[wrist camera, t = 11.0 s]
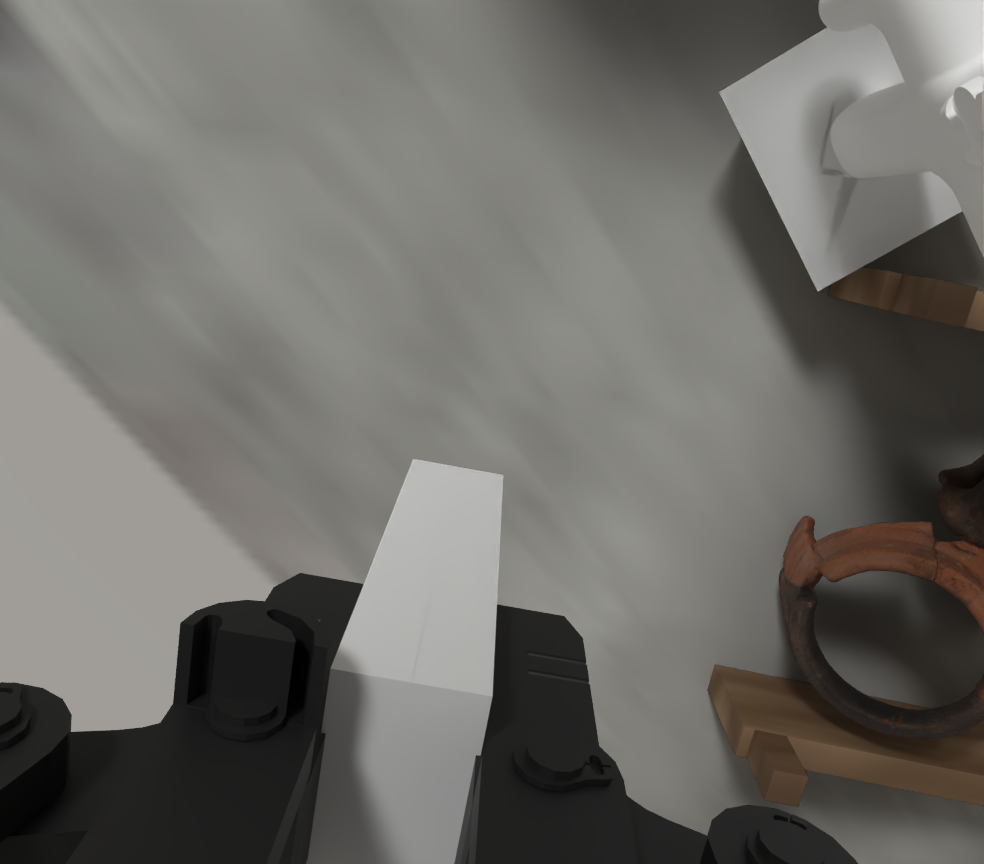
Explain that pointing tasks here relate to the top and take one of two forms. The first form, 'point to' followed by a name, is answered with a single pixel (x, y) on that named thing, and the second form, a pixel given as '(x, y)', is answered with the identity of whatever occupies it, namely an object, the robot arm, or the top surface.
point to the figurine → (870, 129)
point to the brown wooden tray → (845, 743)
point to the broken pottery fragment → (901, 548)
